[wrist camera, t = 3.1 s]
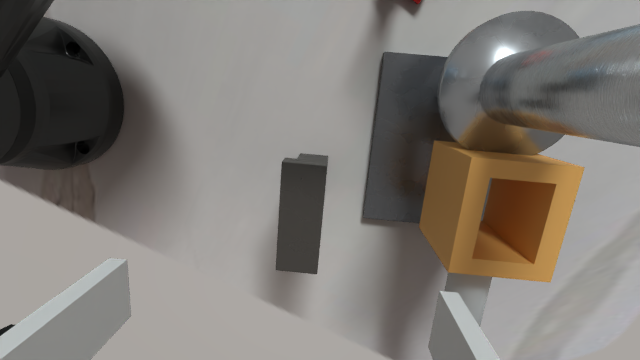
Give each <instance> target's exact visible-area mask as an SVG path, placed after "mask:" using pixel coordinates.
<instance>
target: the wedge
mask: <svg viewBox="0 0 640 360" xmlns="http://www.w3.org/2000/svg"><path fill="white" fill-rule="evenodd" d="M327 163H328V156H323V155H312V154H302V153H300V155H299V157H298V158H297V159H292V158H285V159H284V160H283V161H282V170H281V188H280V205H279V223H278V240H277V258H276V270H280V271H290V272H300V273H310V274H317V270H318V259H319V248H320V237H321V227H322V216H323V206H324V195H325V185H326V174H327Z"/></svg>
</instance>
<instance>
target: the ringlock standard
mask: <svg viewBox="0 0 640 360" xmlns="http://www.w3.org/2000/svg"><path fill="white" fill-rule="evenodd" d="M565 134H566V135H572V136H578V137H584V138H589V139H595V140H601V141H607V142H613V143H619V144H625V145H631V146H637V147H640V24H638V25H634V26H630V27H626V28H621V29H617V30H613V31H608V32H604V33H600V34H596V35H591V36H587V37H583V38H579V36H578V35H577V34H576V32H575V31H574V30H573V29H572V28H571V27H570V26H569V25H567V24H566V23H564V22H563V21H562V20H560V19H558V18H556V17H554V16H552V15H549V14H545V13H542V12H535V11H519V12H512V13H508V14H504V15H501V16H498V17H496V18H494V19H491V20H489V21H487V22H485V23H483V24H482V25H480V26H478V27H476V28H475V29H474V30H472V31H471V32H469V33H468V34H467V35H466V36H465V37H464V38H463V39H462V40H461V41H460V42H459V43H458V44H457V45H456V46H455V48H454V49H453V50H452V52H451V53H450V55H449V56H448V57H440V56H428V55H416V54H405V53H393V52H384V53H383V61H382V69H381V77H380V85H379V93H378V101H377V109H376V117H375V125H374V132H373V140H372V148H371V156H370V164H369V172H368V180H367V188H366V196H365V204H364V212H363V216H364V218H371V219H382V220H392V221H403V222H413V223H420V219H421V213H422V207H423V201H424V196H425V190H426V184H427V178H428V173H429V167H430V161H431V155H432V150H433V144H434V140H435V141H447V142H457V143H458V144H459V145H461V146H462V147H463V148H465V149H468V150H474V151H485V152H496V153H507V154H518V155H529V156H532V155H535V154H537V153H539V152H541V151H544V150H545V149H547V148H548V147H550V146H552V145H553V144H554V143H556V142H557V141H558V140H559V139H561V138H562V137H563V136H564V135H565ZM491 181H492V178H490V180H489V185H488V189H487V194H486V198H485V203H484V207H483V212H482V216H481V221H483V216H484V212H485V207H486V203H487V198H488V194H489V190H490V185H491Z"/></svg>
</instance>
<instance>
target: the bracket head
mask: <svg viewBox="0 0 640 360" xmlns="http://www.w3.org/2000/svg"><path fill="white" fill-rule="evenodd" d="M584 168H585V167H581V166H578V165H574V164H571V163H567V162H564V161H560V160H557V159H553V158H550V157H546V156H543V155H539V154H535V155H532V156H529V155H518V154H507V153H496V152H485V151H474V150H468V149H465V148H463V147H462V146H461V145H459V144H458V143H457V142H447V141H435V140H434V144H433V150H432V155H431V161H430V167H429V173H428V178H427V184H426V190H425V196H424V201H423V207H422V213H421V219H420V224H419V228H420V230H421V231H422V233H423V234H424V236H425V237H426V239H427V240H428V242H429V244H430V245H431V247H432V248H433V250H434V251H435V253H436V254H437V256H438V258H439V259H440V261H441V262H442V264H443V265H444V267H445V268H446V270H447V271H448V276H447V281H446V286H445V291H446V292H456V293H459V295H460V297H461V298H462V300H463V301H464V303H465V305H466V306H467V308H468V309H469V311H470V312H471V314H472V316H473V317H474V319H475V320H476V322H477V324H478V325H479V327H480V324H481V320H482V316H483V312H484V308H485V304H486V300H487V296H488V292H489V288H490V283H491V279H492V277H500V278H510V279H521V280H531V281H541V282H551V279H552V275H553V272H554V269H555V265H556V262H557V259H558V255H559V252H560V248H561V245H562V242H563V238H564V235H565V232H566V228H567V225H568V221H569V218H570V215H571V211H572V208H573V205H574V201H575V198H576V195H577V191H578V188H579V184H580V181H581V178H582V174H583V171H584ZM490 178H492V181H491V185H490V190H489V194H488V198H487V203H486V207H485V212H484V216H483V221H481V216H482V212H483V207H484V203H485V198H486V194H487V189H488V185H489V180H490Z"/></svg>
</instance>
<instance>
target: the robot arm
mask: <svg viewBox="0 0 640 360" xmlns="http://www.w3.org/2000/svg"><path fill="white" fill-rule="evenodd" d="M53 1H54V0H0V165H6V166H16V167H26V168H36V169H47V170H55V169H64V168H69V167H73V166H77V165H81V164H84V163H87V162H90V161H92V160H94V159H96V158H98V157H99V156H101V155H102V154H103V153H104V152H105V151H106V150H107V149H108V148H109V147H110V146H111V145H112V143H113V142H114V140H115V139H116V137H117V135H118V133H119V130H120V127H121V124H122V119H123V95H122V90H121V86H120V83H119V79H118V77H117V74H116V72H115V70H114V68H113V66H112V64H111V63H110V61H109V59H108V58H107V56H106V55H105V54H104V52H103V51H102V50H101V49H100V48H99V47H98V45H97V44H96V43H95V42H94V41H93V40H91V39H90V38H89V37H88V36H87V35H85V34H84V33H82V32H81V31H79V30H78V29H76V28H74V27H73V26H71V25H68V24H66V23H63V22H61V21H57V20H54V19H50V18H46V17H43V16H44V14H45V13H46V11H47V10H48V8H49V7H50V5H51V4H52V2H53ZM130 317H131V307H130V292H129V278H128V265H127V260H125V259H115V258H109V259H107V260H106V261H104V262H103V263H102V264H100V265H99V266H98V267H96V268H95V269H93V270H92V271H90V272H89V273H88V274H86V275H85V276H83V277H82V278H81V279H79V280H78V281H77V282H75V283H74V284H72V285H71V286H70V287H68V288H67V289H65V290H64V291H63V292H61V293H60V294H58V295H57V296H55V297H54V298H53V299H51V300H50V301H49V302H47V303H46V304H44V305H43V306H42V307H40V308H39V309H37V310H36V311H35V312H33V313H32V314H30V315H29V316H28V317H26V318H25V319H23V320H22V321H21V322H19V323H18V324H16V325H12V324H11V325H9V326H7V327H5V328H3V329H1V330H0V360H91V359H92V357H93V356H94V355H95V354H96V353H97V352H98V351H99V350H100V349H101V348H102V346H104V345H105V343H106V342H107V341H108V340H109V339H110V338H111V337H112V336H113V335H114V334H115V333H116V331H118V330H119V328H120V327H121V326H122V325H123V324H124V323H125V322H126V321H127V320H128V319H129V318H130ZM428 347H429V350H430V353H431V355H432V358H433V360H500V359H499V357H498V355H497V354H496V352H495V351H494V349H493V348H492V346H491V344H490V343H489V341H488V340H487V338H486V336H485V335H484V333H483V332H482V330H481V328H480V327H479V325H478V324H477V322H476V320H475V319H474V317H473V316H472V314H471V312H470V311H469V309H468V308H467V306H466V305H465V303H464V301H463V300H462V298H461V297H460V295H459V293H456V292H446V291H439V296H438V301H437V306H436V311H435V316H434V321H433V326H432V331H431V336H430V341H429V346H428Z"/></svg>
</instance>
